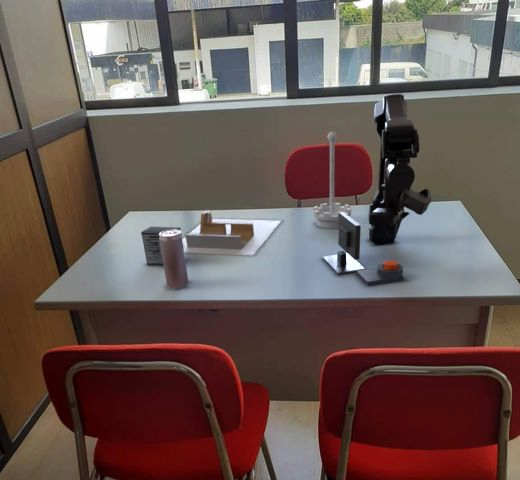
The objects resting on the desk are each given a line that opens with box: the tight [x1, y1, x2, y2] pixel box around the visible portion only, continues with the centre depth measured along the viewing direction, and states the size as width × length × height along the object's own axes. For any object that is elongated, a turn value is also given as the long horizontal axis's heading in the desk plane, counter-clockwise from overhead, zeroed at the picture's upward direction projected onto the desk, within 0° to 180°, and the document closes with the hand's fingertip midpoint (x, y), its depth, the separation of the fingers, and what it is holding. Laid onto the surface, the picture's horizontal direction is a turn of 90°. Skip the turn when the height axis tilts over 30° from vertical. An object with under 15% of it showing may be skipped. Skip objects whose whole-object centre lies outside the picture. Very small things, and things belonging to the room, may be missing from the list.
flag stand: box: [312, 131, 352, 229], centre depth 175 cm, size 13×13×30 cm
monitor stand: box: [322, 250, 366, 276], centre depth 148 cm, size 8×13×4 cm, turn 12°
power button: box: [383, 259, 399, 270], centre depth 138 cm, size 4×4×2 cm
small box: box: [140, 226, 182, 267], centre depth 158 cm, size 11×6×10 cm, turn 71°
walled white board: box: [182, 208, 282, 256], centre depth 177 cm, size 29×35×8 cm
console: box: [355, 262, 405, 287], centre depth 139 cm, size 11×8×3 cm
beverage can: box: [159, 229, 189, 290], centre depth 141 cm, size 6×6×15 cm
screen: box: [337, 212, 362, 261], centre depth 145 cm, size 3×13×10 cm, turn 12°
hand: (392, 241), depth 134 cm, fingers closed
